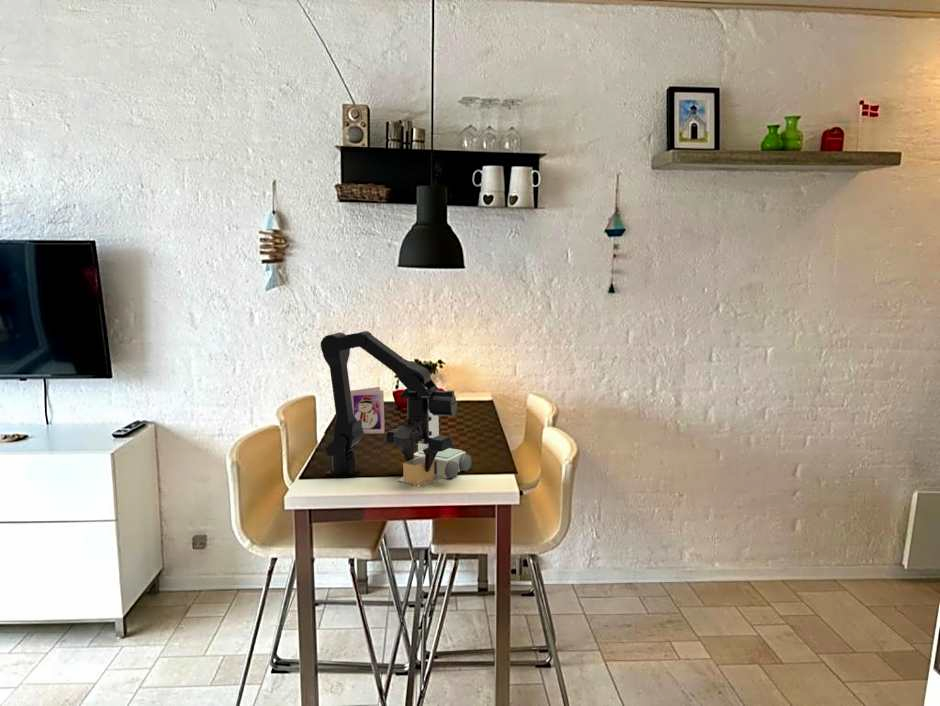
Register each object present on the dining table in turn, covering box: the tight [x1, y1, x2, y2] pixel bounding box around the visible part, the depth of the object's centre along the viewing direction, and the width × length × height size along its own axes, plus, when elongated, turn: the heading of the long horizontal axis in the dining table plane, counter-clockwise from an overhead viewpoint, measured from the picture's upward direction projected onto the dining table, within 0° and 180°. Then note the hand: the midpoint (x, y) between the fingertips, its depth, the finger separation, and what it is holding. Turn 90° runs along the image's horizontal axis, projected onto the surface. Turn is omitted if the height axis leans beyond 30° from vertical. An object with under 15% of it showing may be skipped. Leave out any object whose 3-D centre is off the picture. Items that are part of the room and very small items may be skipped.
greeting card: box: [350, 386, 385, 434], centre depth 233 cm, size 11×7×15 cm, turn 90°
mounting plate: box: [396, 475, 443, 488], centre depth 184 cm, size 9×8×1 cm
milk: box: [417, 387, 440, 452], centre depth 206 cm, size 6×6×22 cm
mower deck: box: [414, 447, 472, 479], centre depth 191 cm, size 15×12×5 cm
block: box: [402, 456, 434, 484], centre depth 183 cm, size 8×4×5 cm, turn 148°
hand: (419, 469), depth 183 cm, fingers open, 5 cm apart
